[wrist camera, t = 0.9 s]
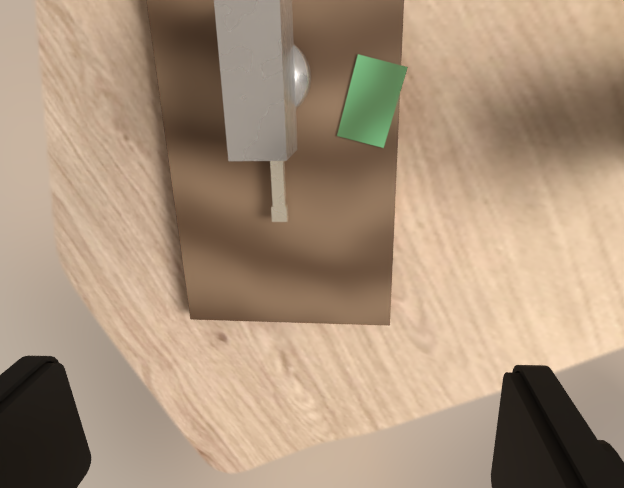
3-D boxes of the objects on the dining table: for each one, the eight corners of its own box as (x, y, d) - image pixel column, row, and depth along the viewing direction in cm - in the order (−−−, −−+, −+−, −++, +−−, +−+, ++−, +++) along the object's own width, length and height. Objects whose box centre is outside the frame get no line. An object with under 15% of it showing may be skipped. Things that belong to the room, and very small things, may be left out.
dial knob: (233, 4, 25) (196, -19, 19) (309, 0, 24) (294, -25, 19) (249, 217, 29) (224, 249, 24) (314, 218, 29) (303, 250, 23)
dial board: (146, -83, 25) (132, -94, 24) (412, -101, 24) (416, -114, 22) (197, 309, 34) (189, 320, 33) (393, 315, 33) (395, 326, 31)
